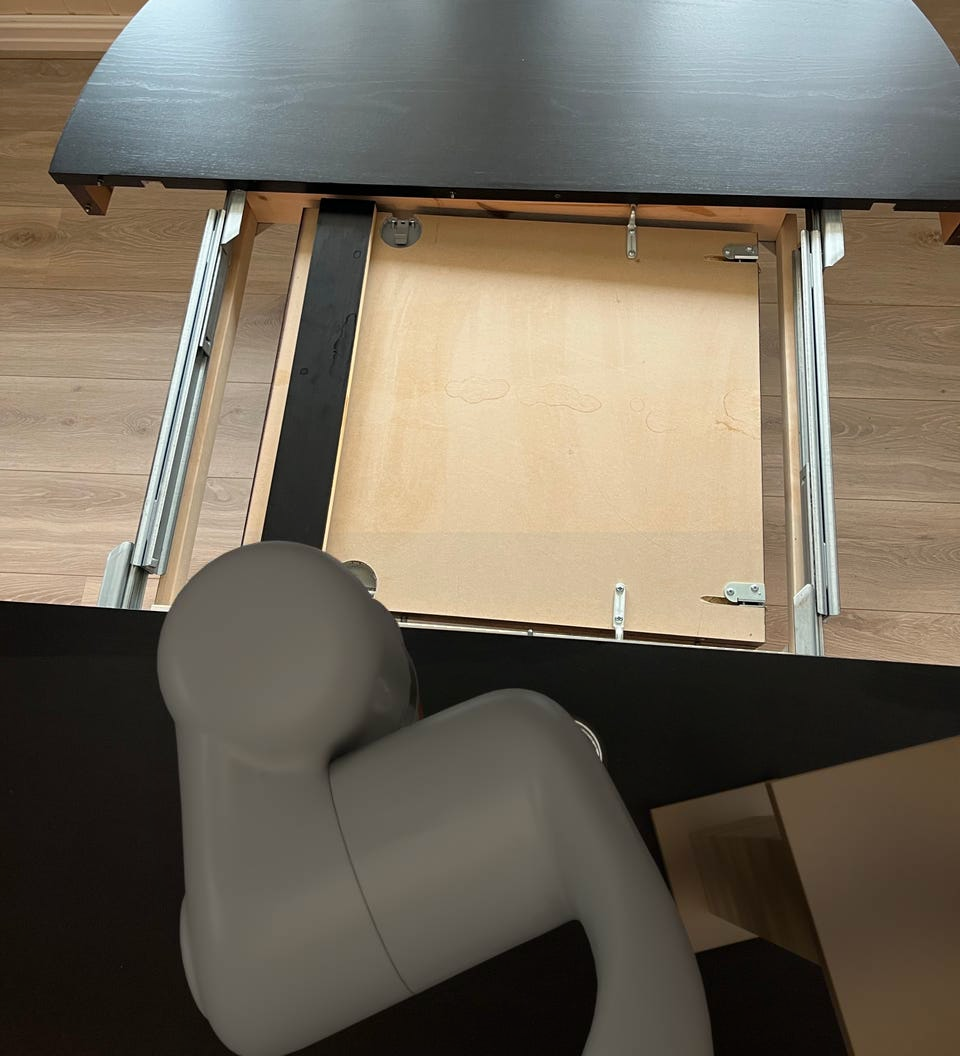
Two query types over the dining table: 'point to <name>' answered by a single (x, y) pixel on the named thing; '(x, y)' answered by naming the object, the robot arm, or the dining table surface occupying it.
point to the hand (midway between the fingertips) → (382, 733)
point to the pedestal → (838, 886)
